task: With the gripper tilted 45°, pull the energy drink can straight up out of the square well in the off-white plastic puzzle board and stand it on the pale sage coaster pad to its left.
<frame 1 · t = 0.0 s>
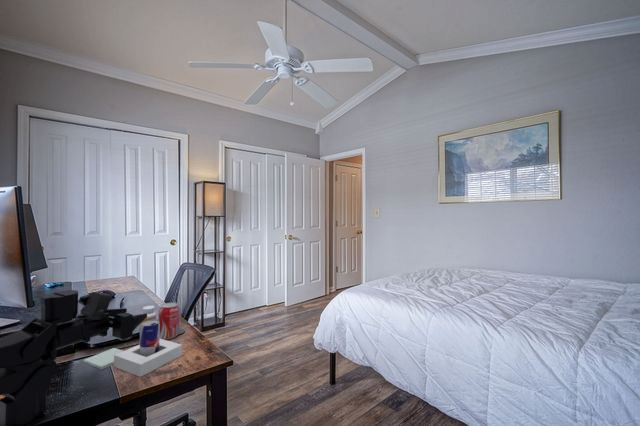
hand: (136, 312, 88), 17 cm above the table, tool horizontal, fingers open, 9 cm apart
energy drink: (149, 361, 92), resting in well board
well board: (149, 360, 92), on the table
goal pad: (108, 359, 92), on the table
supplement bottle: (147, 333, 113), on the table
soda can: (168, 337, 110), on the table
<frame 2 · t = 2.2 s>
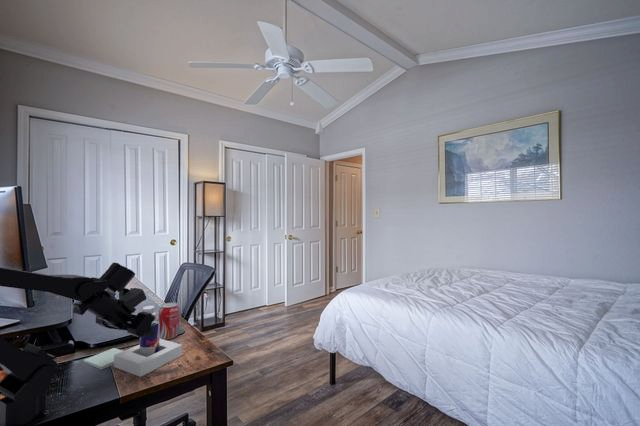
hand: (143, 332, 90), 10 cm above the table, tool tilted 45°, fingers open, 9 cm apart
nothing on the table moved.
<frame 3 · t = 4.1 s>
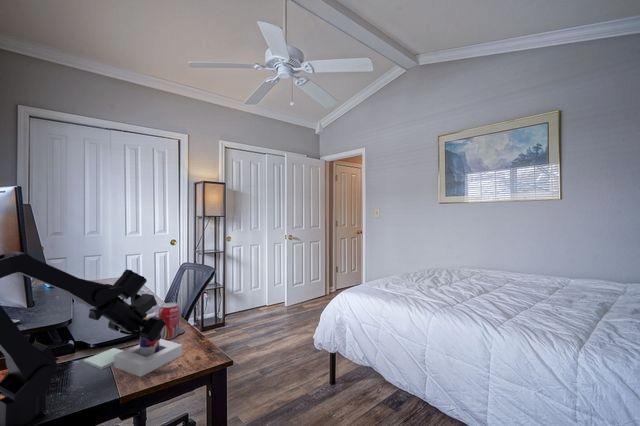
hand: (154, 336, 93), 7 cm above the table, tool tilted 45°, fingers closed on energy drink, 5 cm apart
energy drink: (149, 361, 92), resting in well board, touching gripper
everything else where it was.
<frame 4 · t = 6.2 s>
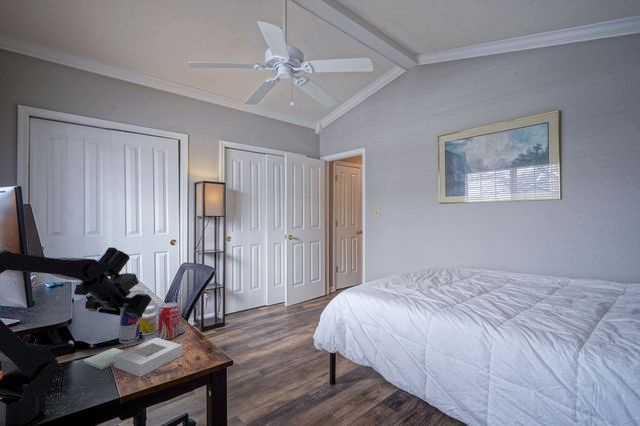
hand: (133, 315, 94), 13 cm above the table, tool tilted 45°, fingers closed on energy drink, 5 cm apart
energy drink: (129, 340, 93), point 6 cm above the table, touching gripper
everything else where it was.
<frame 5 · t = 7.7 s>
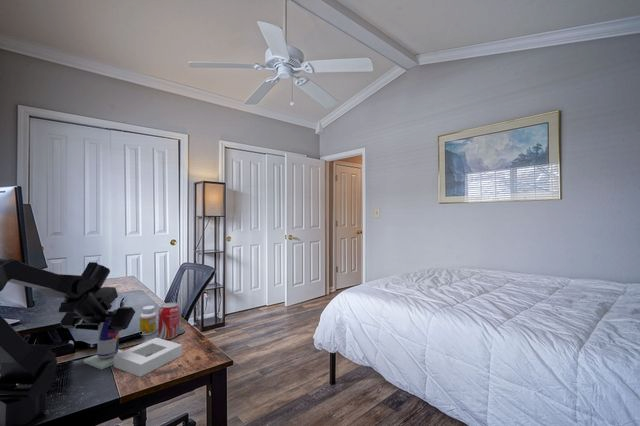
hand: (111, 329, 93), 9 cm above the table, tool tilted 45°, fingers closed on energy drink, 5 cm apart
energy drink: (107, 355, 92), point 1 cm above the table, touching gripper
everything else where it was.
when the fingers open (9 cm above the table, at t = 8.6 s): energy drink stays where it is, resting on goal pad.
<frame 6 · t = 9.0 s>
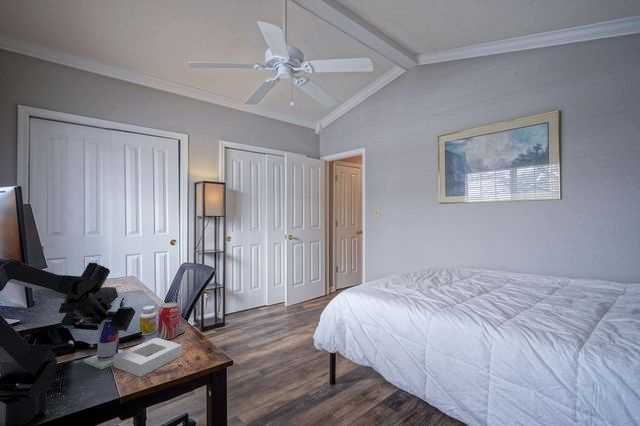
hand: (112, 329, 93), 9 cm above the table, tool tilted 45°, fingers open, 9 cm apart
energy drink: (107, 357, 92), point 1 cm above the table, touching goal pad
everything else where it was.
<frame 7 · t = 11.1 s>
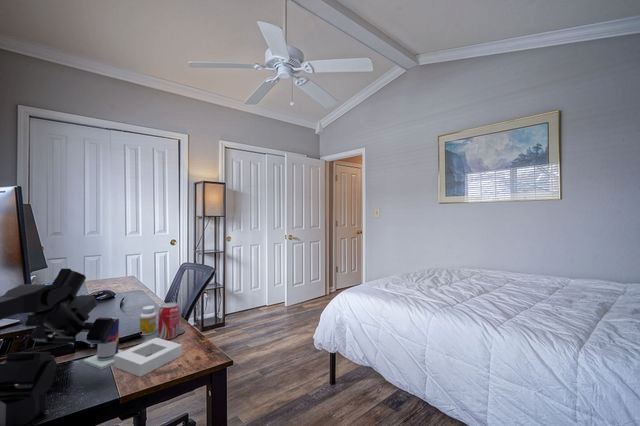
hand: (90, 341, 85), 9 cm above the table, tool tilted 45°, fingers open, 9 cm apart
nothing on the table moved.
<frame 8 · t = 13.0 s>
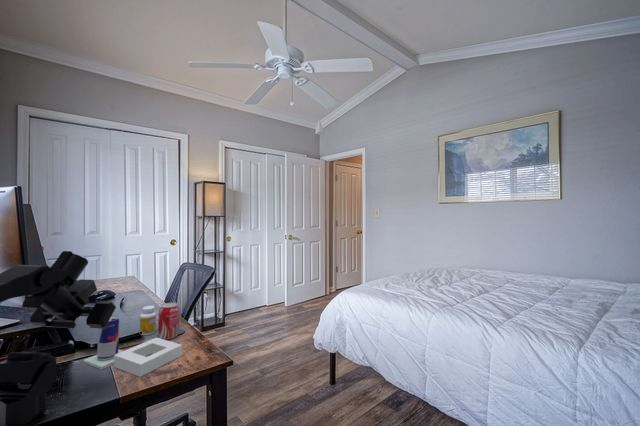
hand: (90, 327, 83), 14 cm above the table, tool tilted 45°, fingers open, 9 cm apart
nothing on the table moved.
at the end: energy drink 0.1 cm off-centre on the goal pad, point 0.6 cm above the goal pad's base; energy drink tilted 0°; the gripper is holding nothing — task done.
